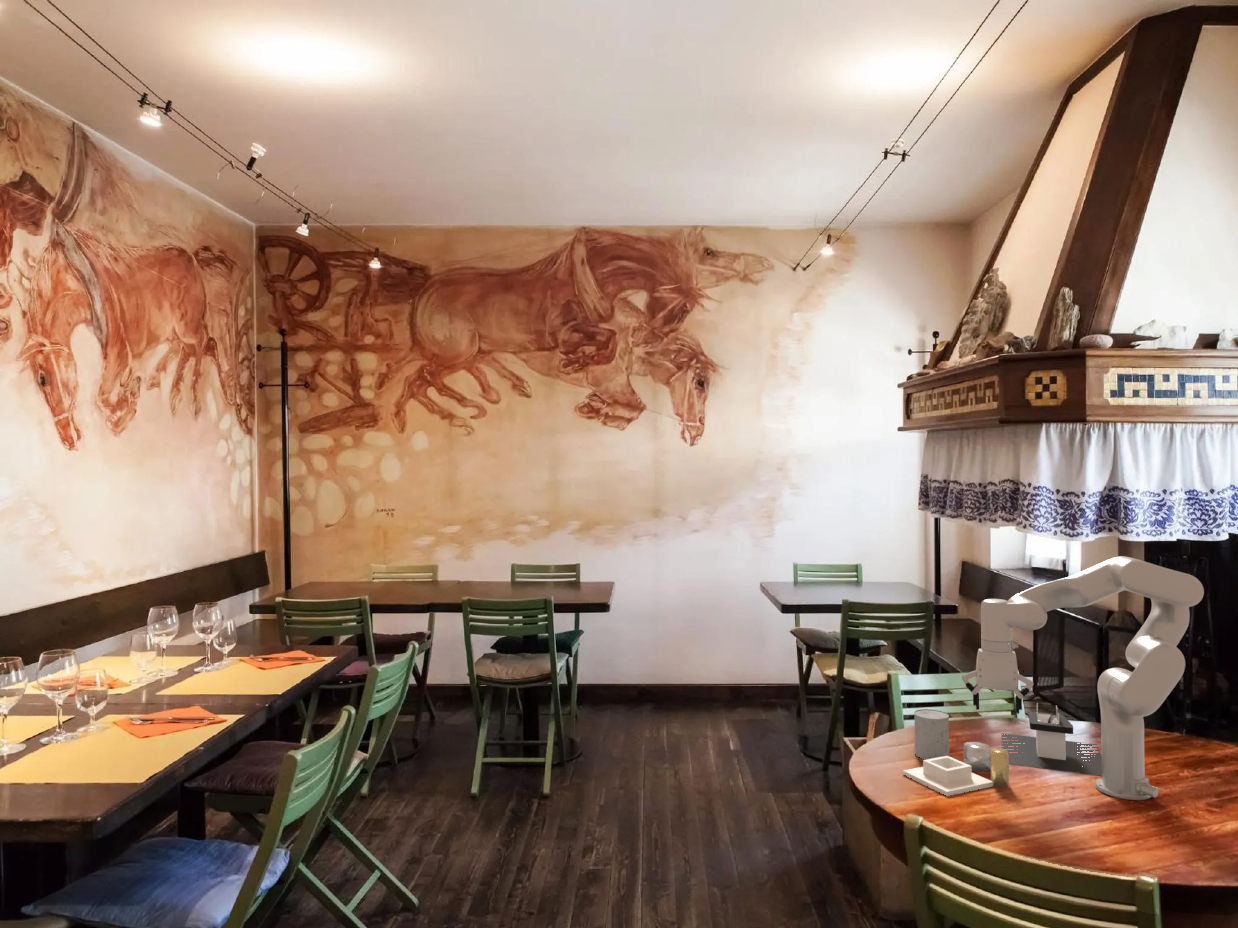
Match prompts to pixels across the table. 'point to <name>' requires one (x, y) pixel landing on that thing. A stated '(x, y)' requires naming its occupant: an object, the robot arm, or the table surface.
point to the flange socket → (947, 776)
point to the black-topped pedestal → (1051, 746)
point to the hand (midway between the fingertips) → (997, 710)
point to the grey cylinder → (931, 733)
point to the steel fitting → (977, 756)
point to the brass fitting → (999, 767)
